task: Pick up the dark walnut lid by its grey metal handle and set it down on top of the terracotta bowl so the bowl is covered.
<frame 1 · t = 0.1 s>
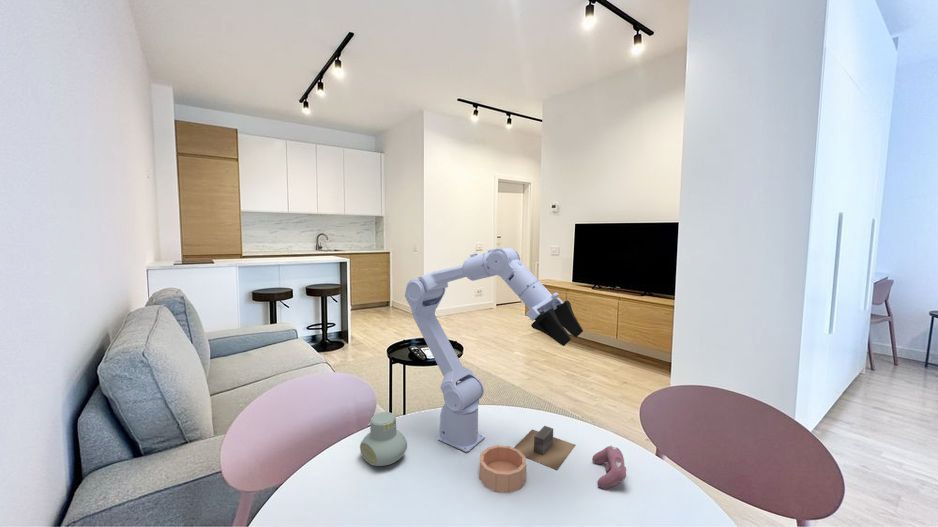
hand: (573, 338, 75), 32 cm above the table, tool tilted 50°, fingers open, 7 cm apart
air freshener: (383, 458, 87), on the table
bowl: (502, 476, 81), on the table
lid: (543, 450, 91), on the table
video game controller: (608, 477, 81), on the table
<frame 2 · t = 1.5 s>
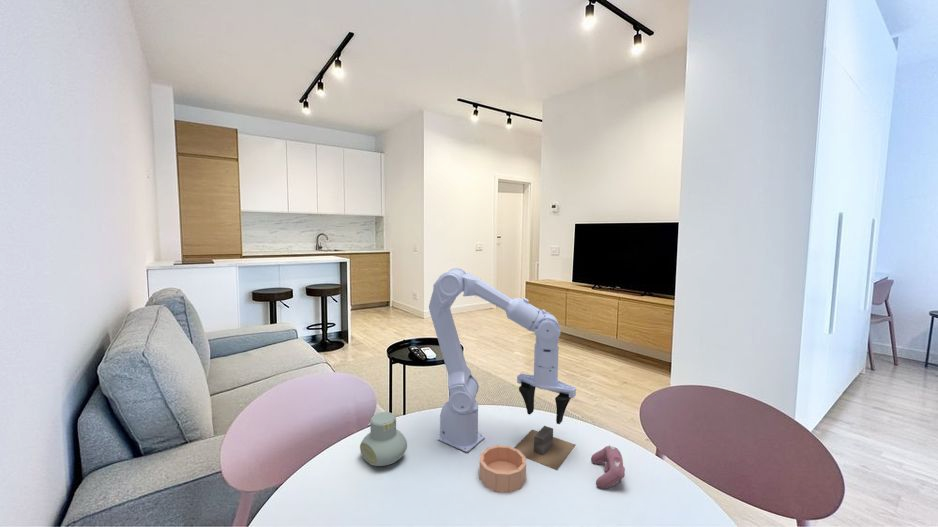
hand: (544, 417, 90), 8 cm above the table, tool pointing down, fingers open, 7 cm apart
nothing on the table moved.
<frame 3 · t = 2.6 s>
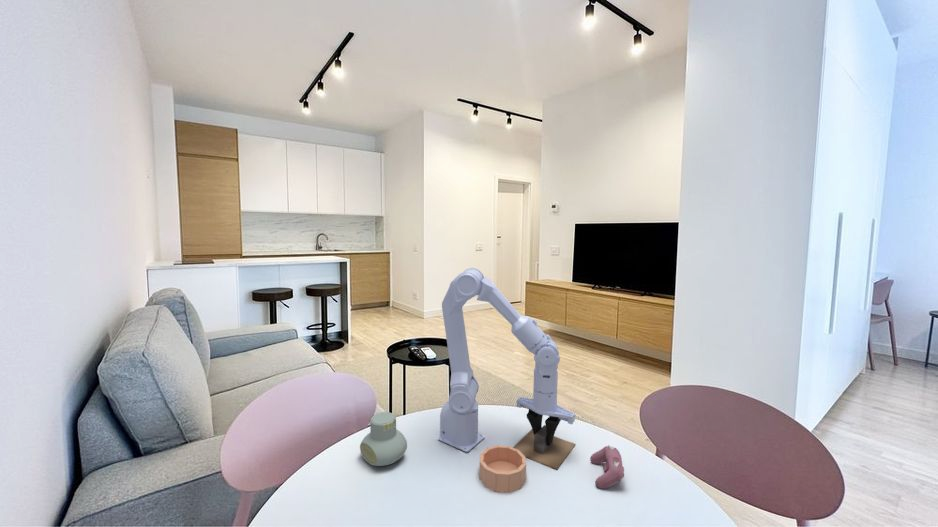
hand: (543, 441, 91), 2 cm above the table, tool pointing down, fingers closed on lid, 2 cm apart
lid: (543, 449, 91), on the table, touching gripper
everything else where it was.
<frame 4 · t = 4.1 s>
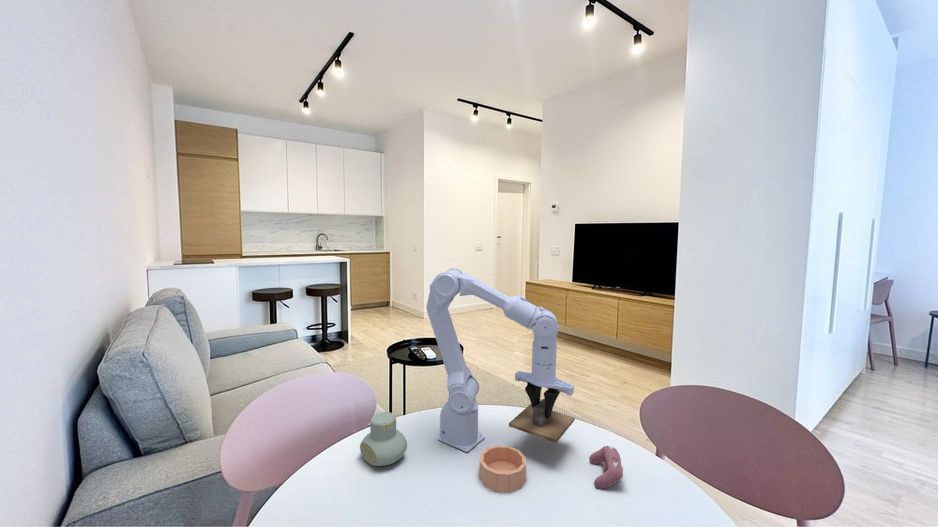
hand: (542, 415, 90), 9 cm above the table, tool pointing down, fingers closed on lid, 2 cm apart
lid: (542, 423, 90), point 7 cm above the table, touching gripper
everything else where it was.
when the fingers open (7 cm above the table, at t = 5.6 s): lid stays where it is, resting on bowl.
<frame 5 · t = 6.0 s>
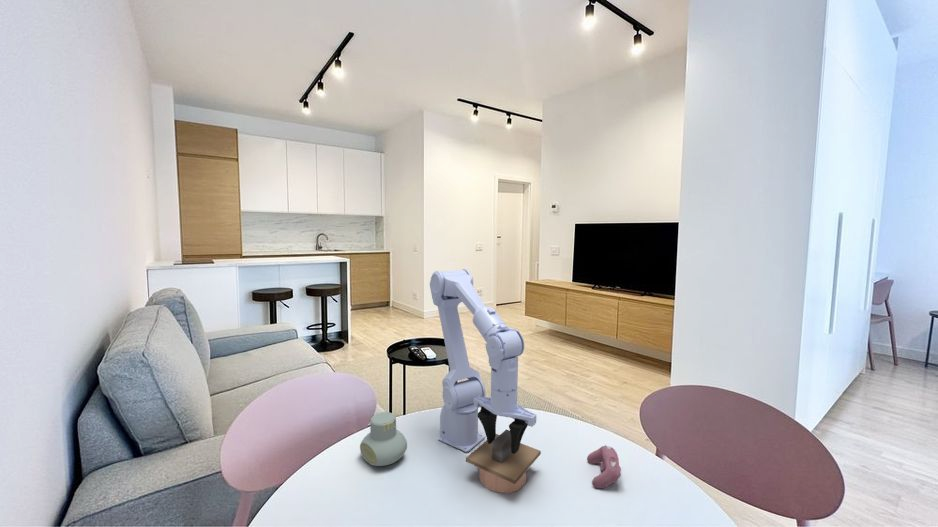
hand: (503, 446, 80), 7 cm above the table, tool pointing down, fingers open, 5 cm apart
lid: (503, 457, 81), point 4 cm above the table, touching bowl
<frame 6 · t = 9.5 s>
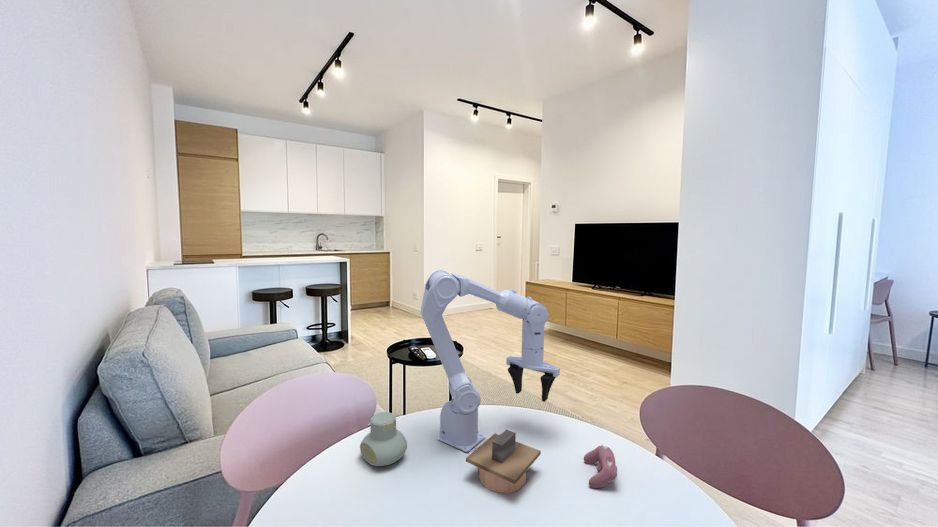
hand: (531, 396, 98), 10 cm above the table, tool pointing down, fingers open, 7 cm apart
at the end: lid 0.5 cm off-centre on the bowl, point 4.0 cm above the bowl's base; lid tilted 0°; the gripper is holding nothing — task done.
